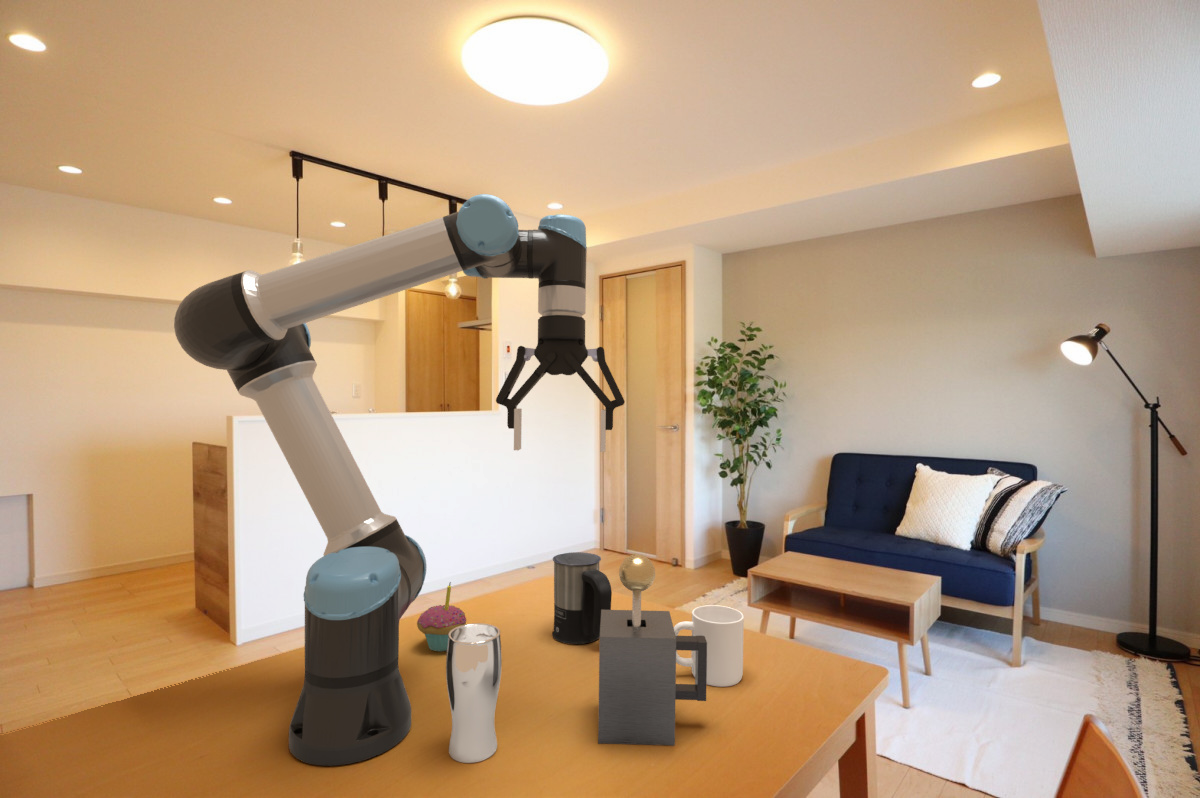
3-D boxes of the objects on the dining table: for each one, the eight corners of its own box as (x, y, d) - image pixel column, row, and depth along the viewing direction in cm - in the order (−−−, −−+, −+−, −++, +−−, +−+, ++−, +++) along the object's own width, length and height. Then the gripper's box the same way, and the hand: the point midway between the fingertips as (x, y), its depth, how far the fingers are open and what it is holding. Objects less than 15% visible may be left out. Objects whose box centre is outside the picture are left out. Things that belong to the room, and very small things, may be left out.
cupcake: (475, 643, 110) (476, 578, 110) (440, 660, 103) (441, 590, 103) (442, 633, 115) (443, 570, 114) (406, 648, 107) (407, 581, 107)
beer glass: (473, 772, 73) (475, 648, 72) (433, 753, 76) (434, 635, 76) (511, 744, 78) (513, 629, 78) (472, 728, 82) (473, 618, 82)
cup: (749, 687, 95) (750, 622, 95) (674, 688, 94) (674, 623, 94) (734, 663, 103) (735, 604, 103) (664, 665, 102) (665, 605, 102)
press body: (598, 743, 79) (599, 636, 79) (600, 704, 89) (601, 609, 89) (710, 746, 79) (711, 639, 79) (699, 706, 89) (700, 611, 89)
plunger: (606, 727, 80) (608, 562, 80) (606, 697, 88) (608, 547, 88) (666, 728, 80) (668, 563, 80) (661, 698, 88) (663, 548, 88)
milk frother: (541, 637, 113) (542, 558, 113) (590, 613, 126) (591, 542, 126) (603, 657, 105) (604, 572, 105) (649, 629, 118) (650, 553, 118)
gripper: (639, 320, 99) (637, 449, 99) (488, 318, 100) (487, 447, 100) (641, 314, 92) (639, 453, 92) (478, 312, 92) (476, 451, 92)
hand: (560, 450), depth 96 cm, fingers open, 13 cm apart
